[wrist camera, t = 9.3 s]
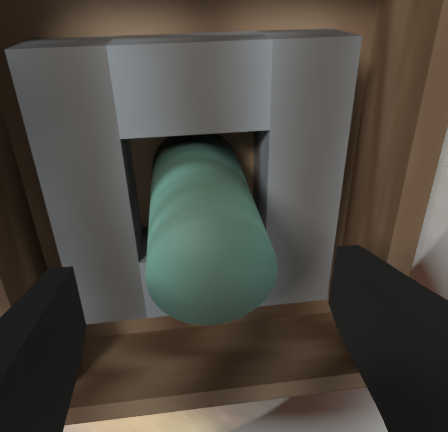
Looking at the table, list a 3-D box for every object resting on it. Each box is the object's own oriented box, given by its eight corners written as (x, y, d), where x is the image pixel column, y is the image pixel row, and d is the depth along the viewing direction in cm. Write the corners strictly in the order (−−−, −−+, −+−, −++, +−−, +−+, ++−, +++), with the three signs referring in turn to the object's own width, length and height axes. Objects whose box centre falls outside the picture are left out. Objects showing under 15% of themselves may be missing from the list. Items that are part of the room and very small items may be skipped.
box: (52, 351, 24) (28, 429, 20) (-101, -126, 13) (-223, -177, 9) (346, 320, 26) (381, 385, 22) (421, -125, 15) (521, -166, 11)
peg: (156, 209, 20) (152, 331, 13) (147, 130, 18) (137, 225, 11) (237, 203, 20) (274, 318, 14) (237, 125, 18) (281, 214, 12)
